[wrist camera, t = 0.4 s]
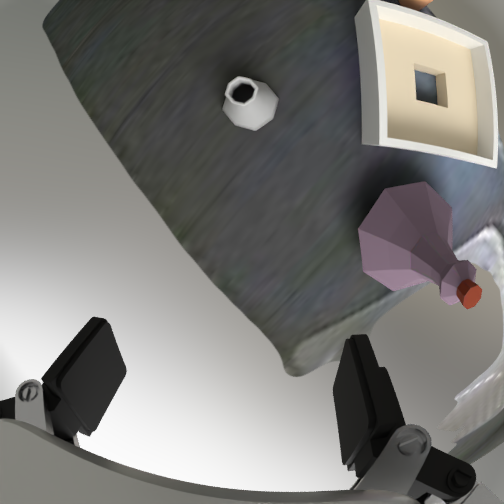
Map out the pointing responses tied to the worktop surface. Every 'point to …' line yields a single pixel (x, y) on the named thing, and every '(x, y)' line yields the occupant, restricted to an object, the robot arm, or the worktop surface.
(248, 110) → the flask
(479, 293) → the flask
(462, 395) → the worktop surface
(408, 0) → the peg
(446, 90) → the box
